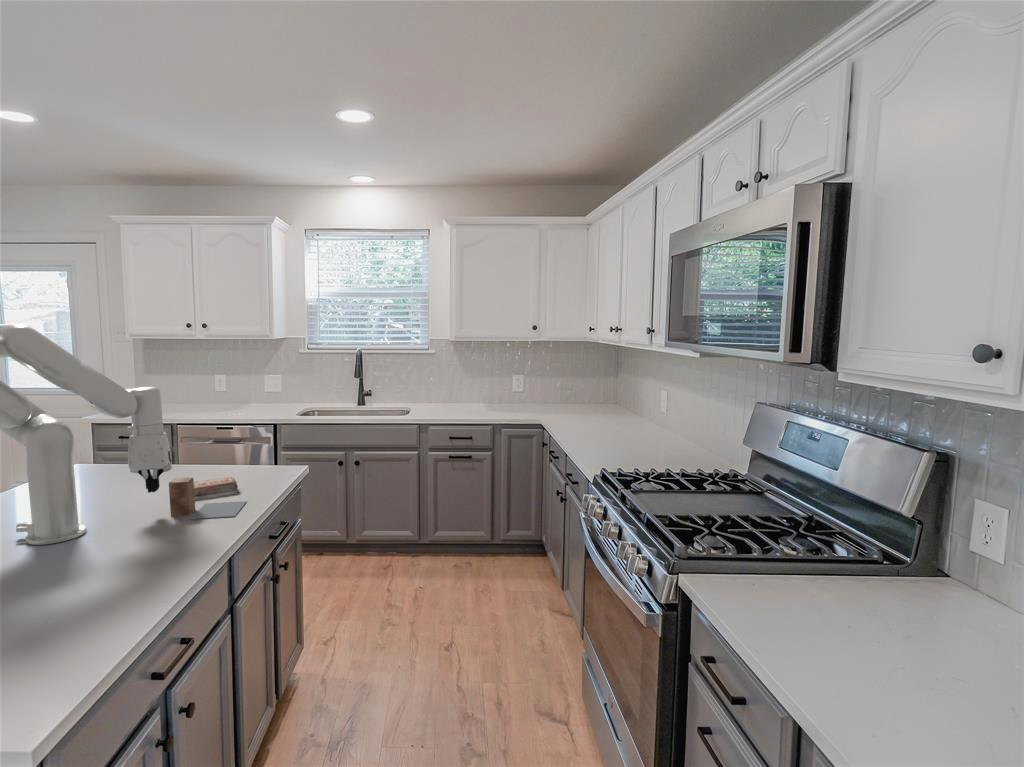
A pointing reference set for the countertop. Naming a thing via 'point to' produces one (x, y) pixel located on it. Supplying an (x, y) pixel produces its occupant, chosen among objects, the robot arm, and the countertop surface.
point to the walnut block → (182, 496)
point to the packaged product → (215, 488)
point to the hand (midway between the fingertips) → (153, 490)
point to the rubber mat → (218, 510)
